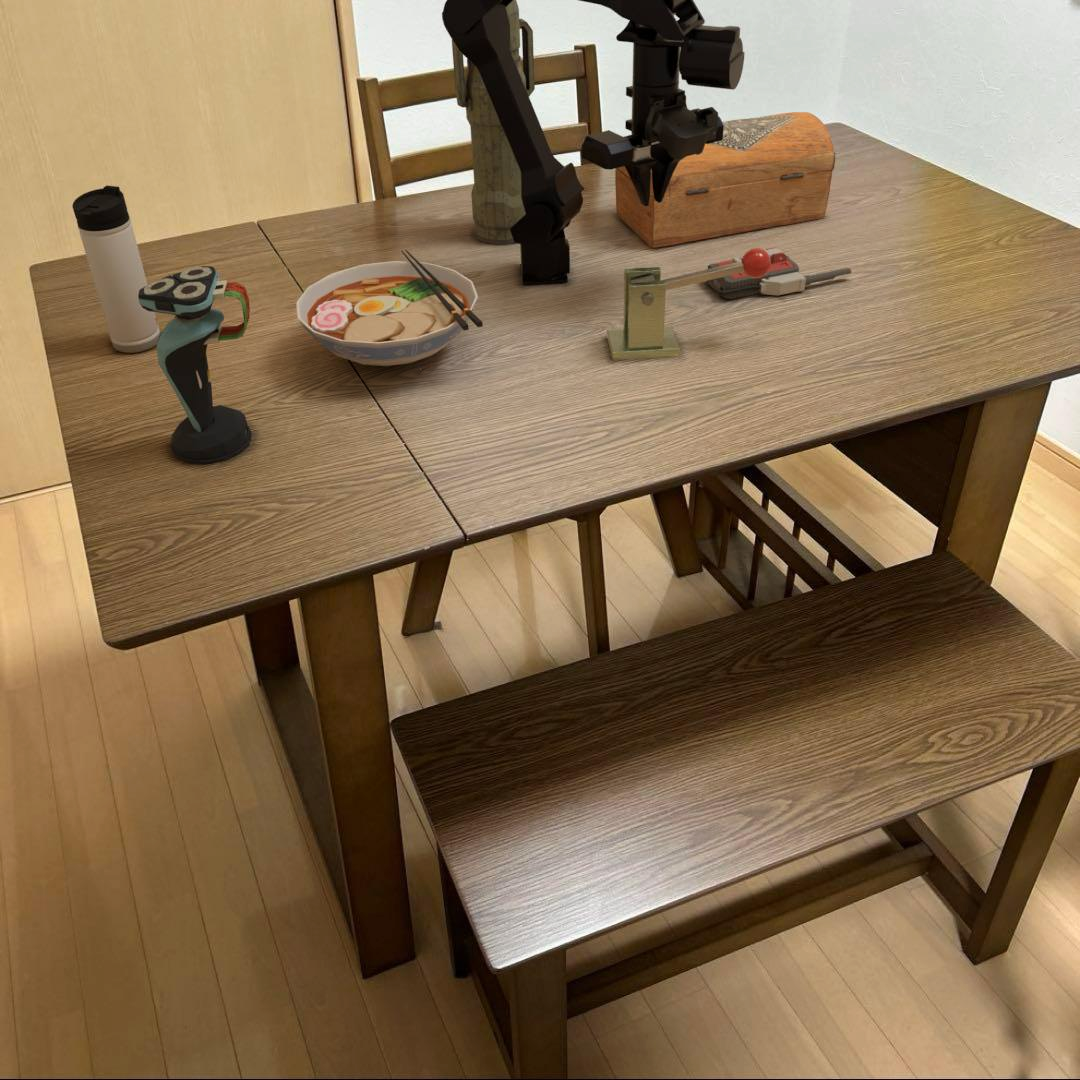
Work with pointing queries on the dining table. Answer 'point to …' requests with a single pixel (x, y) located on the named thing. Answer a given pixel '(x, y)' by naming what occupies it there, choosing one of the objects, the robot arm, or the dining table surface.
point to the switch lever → (721, 270)
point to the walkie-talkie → (768, 278)
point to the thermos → (494, 140)
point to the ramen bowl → (388, 311)
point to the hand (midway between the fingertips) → (651, 203)
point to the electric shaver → (197, 361)
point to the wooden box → (738, 182)
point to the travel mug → (116, 268)
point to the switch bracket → (643, 320)
